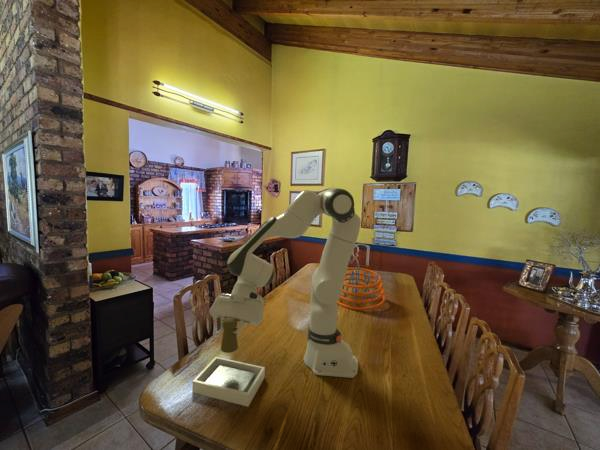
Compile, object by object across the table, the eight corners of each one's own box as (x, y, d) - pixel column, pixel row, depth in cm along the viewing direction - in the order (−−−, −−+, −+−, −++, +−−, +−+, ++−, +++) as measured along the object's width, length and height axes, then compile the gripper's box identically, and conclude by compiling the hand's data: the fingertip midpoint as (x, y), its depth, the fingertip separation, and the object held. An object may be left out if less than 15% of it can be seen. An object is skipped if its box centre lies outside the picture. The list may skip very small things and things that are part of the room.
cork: (231, 341, 98) (232, 313, 97) (241, 347, 94) (242, 318, 93) (217, 347, 94) (217, 318, 93) (227, 354, 90) (227, 324, 89)
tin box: (254, 379, 94) (254, 372, 93) (242, 399, 84) (242, 392, 84) (219, 371, 97) (219, 365, 97) (203, 390, 87) (204, 383, 87)
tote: (264, 380, 95) (264, 367, 95) (248, 409, 82) (248, 394, 81) (215, 368, 100) (215, 356, 99) (192, 395, 86) (192, 381, 86)
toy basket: (393, 314, 160) (395, 278, 156) (336, 315, 160) (337, 279, 155) (376, 290, 194) (377, 259, 190) (329, 291, 194) (330, 260, 189)
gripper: (215, 289, 101) (199, 324, 93) (264, 296, 96) (252, 334, 88) (221, 296, 106) (207, 330, 98) (268, 303, 101) (257, 340, 93)
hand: (228, 332), depth 93 cm, fingers closed on cork, 4 cm apart
